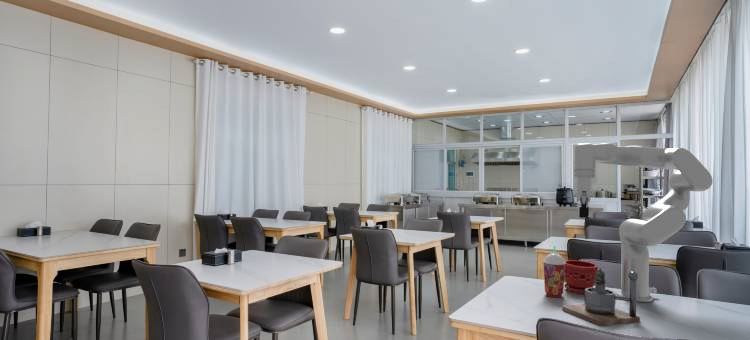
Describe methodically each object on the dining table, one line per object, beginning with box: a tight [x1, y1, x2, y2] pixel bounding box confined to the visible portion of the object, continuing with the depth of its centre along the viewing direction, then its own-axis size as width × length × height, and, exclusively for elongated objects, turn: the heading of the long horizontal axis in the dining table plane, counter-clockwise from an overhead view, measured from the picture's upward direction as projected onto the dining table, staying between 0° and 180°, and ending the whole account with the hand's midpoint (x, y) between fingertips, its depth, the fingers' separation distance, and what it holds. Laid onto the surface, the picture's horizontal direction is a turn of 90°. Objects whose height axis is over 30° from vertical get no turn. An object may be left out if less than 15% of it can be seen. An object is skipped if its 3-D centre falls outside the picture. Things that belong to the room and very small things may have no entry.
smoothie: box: [542, 245, 566, 299], centre depth 175 cm, size 8×8×20 cm
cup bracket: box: [561, 271, 641, 327], centre depth 150 cm, size 17×17×16 cm
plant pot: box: [564, 259, 599, 295], centre depth 183 cm, size 13×13×12 cm
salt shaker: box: [591, 267, 610, 294], centre depth 151 cm, size 6×6×12 cm
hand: (584, 216), depth 173 cm, fingers open, 9 cm apart
